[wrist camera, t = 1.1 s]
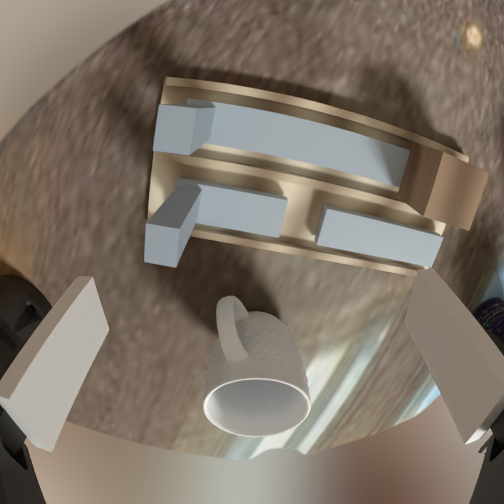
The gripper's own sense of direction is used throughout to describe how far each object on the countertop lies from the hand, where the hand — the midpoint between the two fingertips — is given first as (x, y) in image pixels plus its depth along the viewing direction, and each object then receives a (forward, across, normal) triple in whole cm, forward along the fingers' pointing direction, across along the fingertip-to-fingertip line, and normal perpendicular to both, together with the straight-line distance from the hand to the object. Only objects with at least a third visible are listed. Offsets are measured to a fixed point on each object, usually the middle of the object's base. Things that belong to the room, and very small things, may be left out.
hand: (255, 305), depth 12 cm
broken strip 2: (+21, +14, -6) cm, 26 cm away
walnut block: (+20, +18, +1) cm, 27 cm away
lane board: (+22, +7, -1) cm, 23 cm away
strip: (+21, +8, +3) cm, 23 cm away
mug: (+22, 0, -19) cm, 29 cm away
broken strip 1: (+21, -2, -3) cm, 21 cm away
